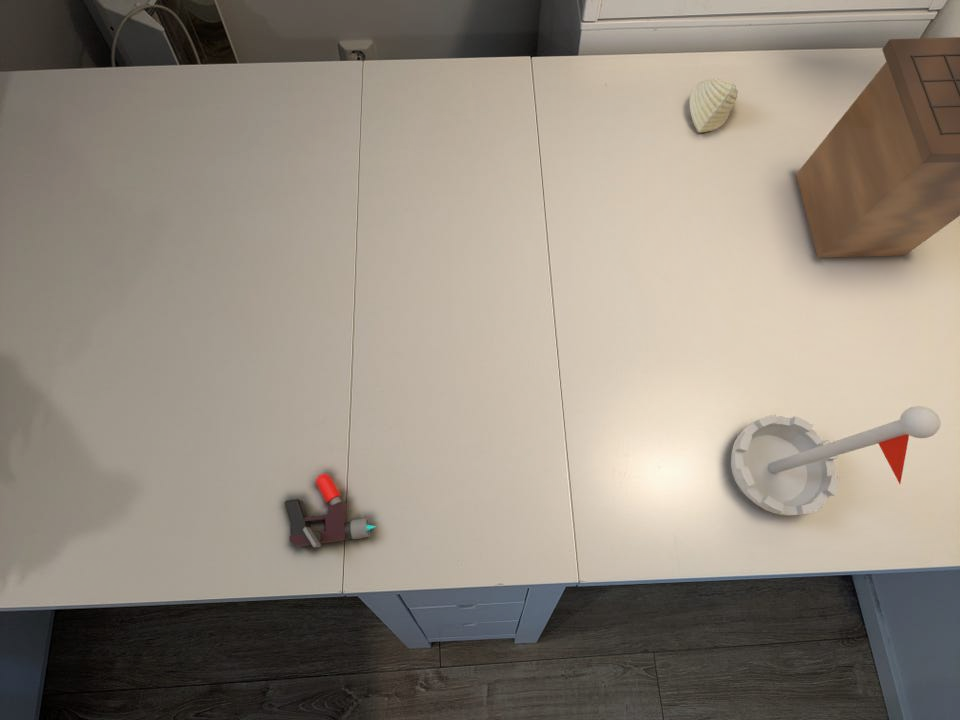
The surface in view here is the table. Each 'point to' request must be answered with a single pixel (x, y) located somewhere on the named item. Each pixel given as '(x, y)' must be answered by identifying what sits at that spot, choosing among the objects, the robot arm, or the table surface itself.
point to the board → (890, 157)
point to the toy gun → (334, 520)
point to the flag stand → (812, 458)
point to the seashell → (711, 103)
